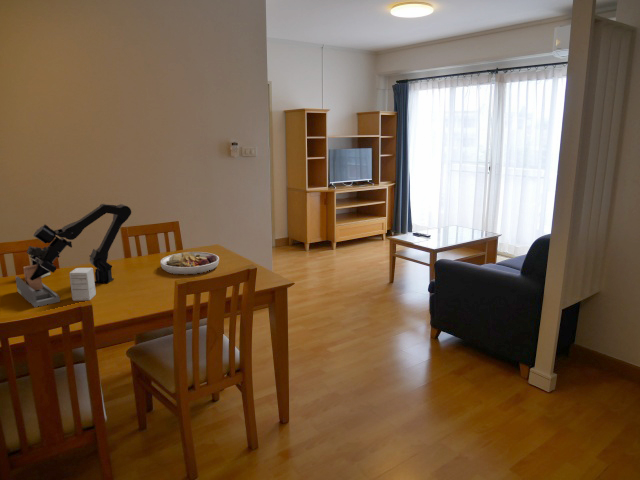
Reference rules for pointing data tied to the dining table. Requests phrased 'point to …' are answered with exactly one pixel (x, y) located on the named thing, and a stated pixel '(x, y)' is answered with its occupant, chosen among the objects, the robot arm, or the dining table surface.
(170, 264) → the bowl
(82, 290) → the supplement box
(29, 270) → the terracotta block
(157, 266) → the dining table surface
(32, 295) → the channel deck
